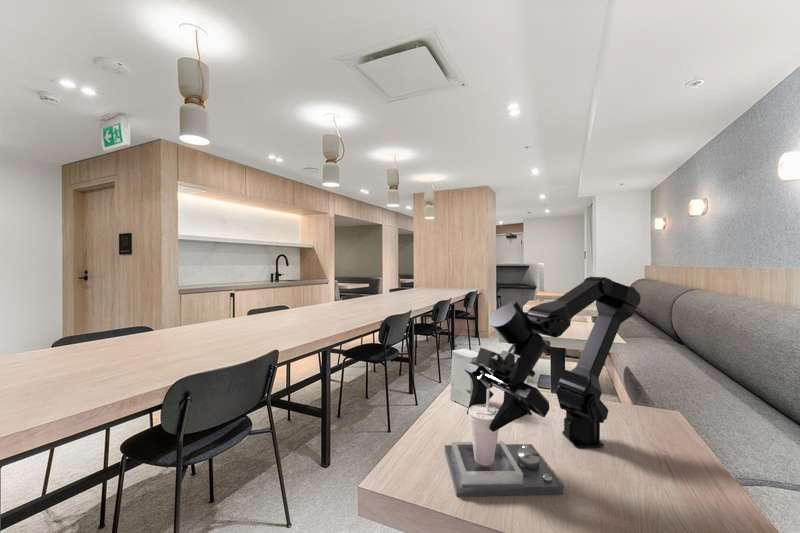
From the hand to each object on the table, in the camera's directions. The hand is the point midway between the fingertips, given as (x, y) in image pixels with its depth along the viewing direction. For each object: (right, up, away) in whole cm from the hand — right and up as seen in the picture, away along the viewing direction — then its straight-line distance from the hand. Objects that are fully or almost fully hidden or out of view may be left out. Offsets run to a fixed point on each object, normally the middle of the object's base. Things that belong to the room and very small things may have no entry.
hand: (479, 422), depth 66 cm
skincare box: (+4, -10, +35) cm, 36 cm away
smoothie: (+1, -8, +1) cm, 8 cm away
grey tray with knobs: (+4, -10, +2) cm, 11 cm away
